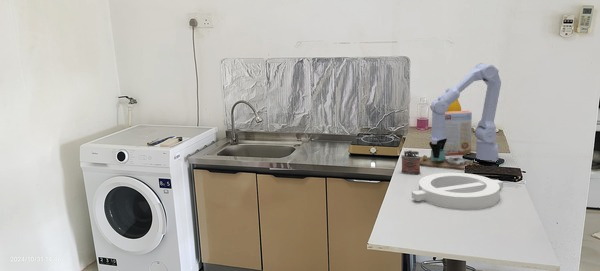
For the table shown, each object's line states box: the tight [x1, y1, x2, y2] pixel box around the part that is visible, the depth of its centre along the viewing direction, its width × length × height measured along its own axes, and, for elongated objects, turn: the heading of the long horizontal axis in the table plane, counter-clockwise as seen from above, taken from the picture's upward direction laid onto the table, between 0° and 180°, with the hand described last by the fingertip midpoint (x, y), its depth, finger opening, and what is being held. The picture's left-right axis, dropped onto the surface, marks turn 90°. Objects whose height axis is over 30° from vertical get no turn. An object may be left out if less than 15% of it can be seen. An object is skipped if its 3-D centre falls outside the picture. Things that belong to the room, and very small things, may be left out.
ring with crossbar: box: [411, 172, 504, 210], centre depth 170 cm, size 28×28×5 cm
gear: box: [430, 149, 447, 161], centre depth 210 cm, size 6×6×4 cm
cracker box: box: [443, 110, 473, 156], centre depth 224 cm, size 14×6×21 cm, turn 84°
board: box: [420, 154, 472, 171], centre depth 210 cm, size 23×12×4 cm, turn 59°
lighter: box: [400, 149, 421, 175], centre depth 199 cm, size 8×3×10 cm, turn 62°
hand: (438, 156), depth 210 cm, fingers closed on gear, 6 cm apart
